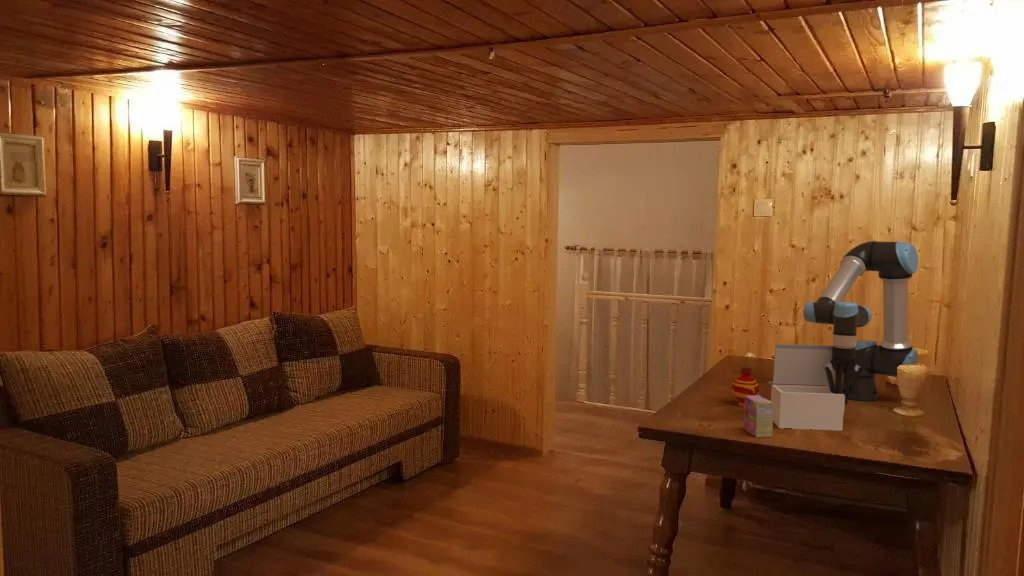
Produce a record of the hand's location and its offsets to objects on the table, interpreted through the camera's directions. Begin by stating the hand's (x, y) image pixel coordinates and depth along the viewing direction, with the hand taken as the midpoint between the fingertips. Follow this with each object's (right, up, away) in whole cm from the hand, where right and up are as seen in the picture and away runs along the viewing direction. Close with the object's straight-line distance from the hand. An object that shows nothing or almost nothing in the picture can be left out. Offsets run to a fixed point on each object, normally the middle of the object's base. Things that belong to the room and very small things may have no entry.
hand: (840, 413), depth 267 cm
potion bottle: (-25, -2, +29) cm, 38 cm away
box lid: (-11, +16, +5) cm, 20 cm away
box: (-33, -5, -10) cm, 35 cm away
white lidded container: (-11, -4, +2) cm, 12 cm away
